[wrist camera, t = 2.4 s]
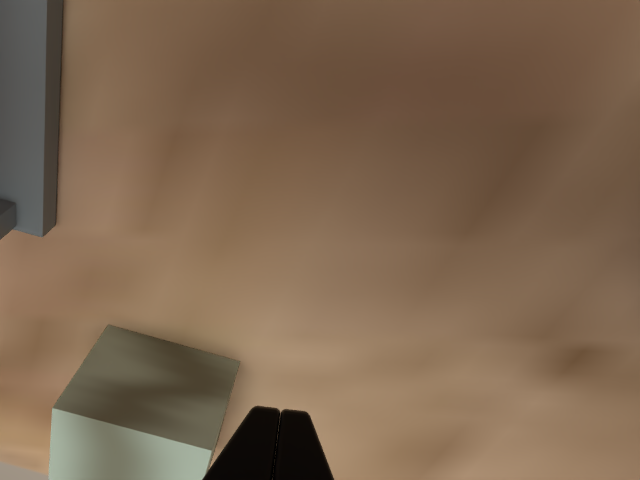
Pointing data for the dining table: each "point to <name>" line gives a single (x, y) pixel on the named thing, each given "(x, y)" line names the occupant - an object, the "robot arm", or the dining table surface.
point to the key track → (29, 114)
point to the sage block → (140, 411)
